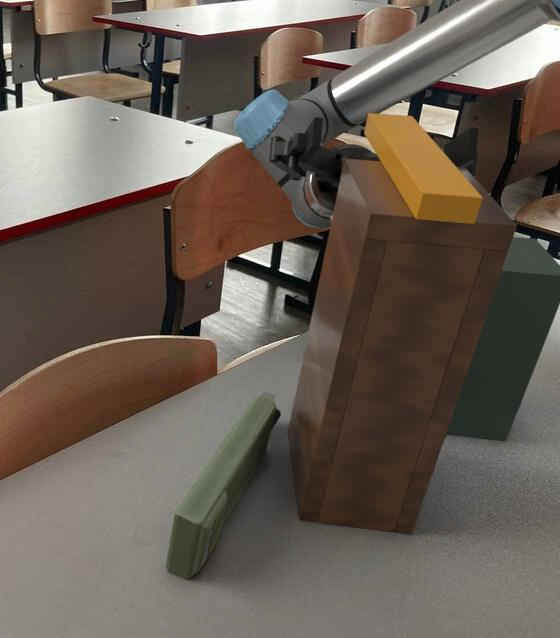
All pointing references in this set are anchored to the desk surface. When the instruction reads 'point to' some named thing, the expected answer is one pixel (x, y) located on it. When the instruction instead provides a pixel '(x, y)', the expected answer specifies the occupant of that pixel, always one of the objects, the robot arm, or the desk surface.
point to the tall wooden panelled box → (388, 350)
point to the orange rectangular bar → (422, 170)
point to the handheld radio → (220, 487)
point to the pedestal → (509, 342)
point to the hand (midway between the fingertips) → (394, 137)
